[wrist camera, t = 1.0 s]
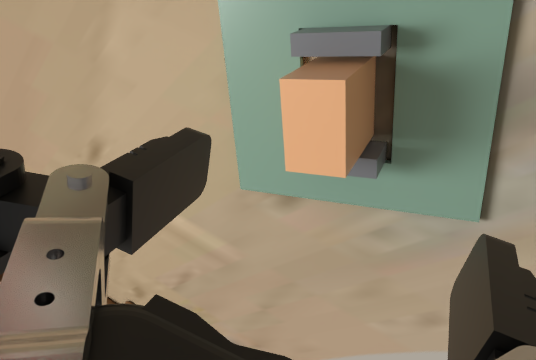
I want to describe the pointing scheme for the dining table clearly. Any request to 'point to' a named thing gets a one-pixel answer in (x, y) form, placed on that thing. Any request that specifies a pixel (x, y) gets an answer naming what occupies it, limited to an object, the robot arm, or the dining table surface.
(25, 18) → the dining table surface
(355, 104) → the block
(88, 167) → the robot arm
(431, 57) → the board
